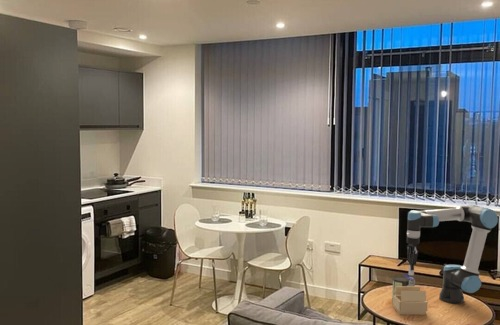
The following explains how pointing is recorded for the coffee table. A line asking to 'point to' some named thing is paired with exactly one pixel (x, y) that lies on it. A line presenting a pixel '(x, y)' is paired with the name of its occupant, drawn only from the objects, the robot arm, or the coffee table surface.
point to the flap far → (406, 289)
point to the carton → (409, 306)
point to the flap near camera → (413, 295)
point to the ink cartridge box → (410, 280)
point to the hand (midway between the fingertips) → (411, 274)
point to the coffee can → (399, 283)
